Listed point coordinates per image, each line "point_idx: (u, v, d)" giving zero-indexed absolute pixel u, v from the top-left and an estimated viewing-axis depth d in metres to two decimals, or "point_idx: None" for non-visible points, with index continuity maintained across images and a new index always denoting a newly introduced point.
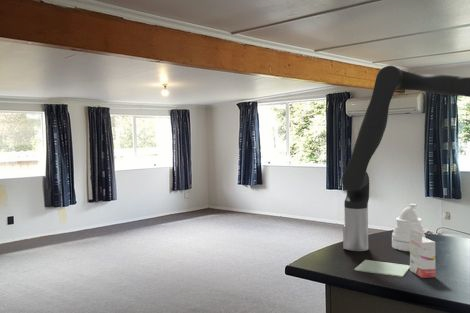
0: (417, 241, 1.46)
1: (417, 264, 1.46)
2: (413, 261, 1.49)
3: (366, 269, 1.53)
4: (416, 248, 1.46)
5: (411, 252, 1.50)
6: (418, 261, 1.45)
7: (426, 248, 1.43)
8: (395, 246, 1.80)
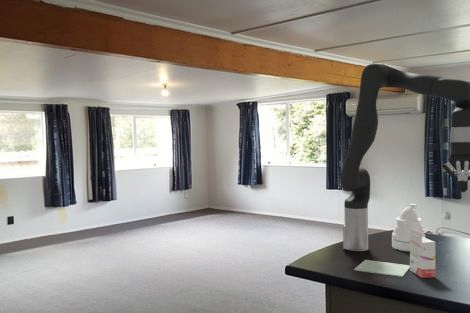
0: (417, 241, 1.46)
1: (417, 264, 1.46)
2: (413, 261, 1.49)
3: (366, 269, 1.53)
4: (416, 248, 1.46)
5: (411, 252, 1.50)
6: (418, 261, 1.45)
7: (426, 248, 1.43)
8: (395, 246, 1.80)
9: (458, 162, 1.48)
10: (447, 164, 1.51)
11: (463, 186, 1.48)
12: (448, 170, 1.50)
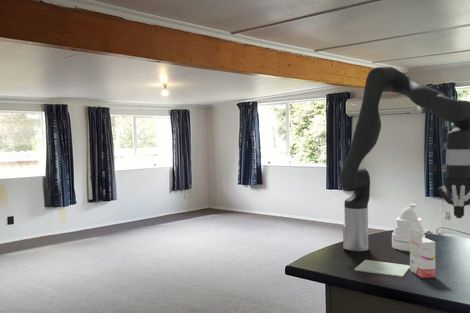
0: (417, 241, 1.46)
1: (417, 264, 1.46)
2: (413, 261, 1.49)
3: (366, 269, 1.53)
4: (416, 248, 1.46)
5: (411, 252, 1.50)
6: (418, 261, 1.45)
7: (426, 248, 1.43)
8: (395, 246, 1.80)
9: (454, 186, 1.39)
10: (442, 188, 1.43)
11: (459, 212, 1.40)
12: (443, 194, 1.42)
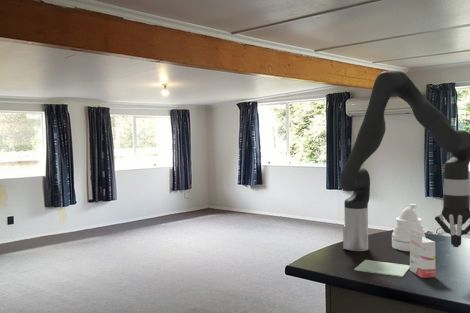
0: (417, 241, 1.46)
1: (417, 264, 1.46)
2: (413, 261, 1.49)
3: (366, 269, 1.53)
4: (416, 248, 1.46)
5: (411, 252, 1.50)
6: (418, 261, 1.45)
7: (426, 248, 1.43)
8: (395, 246, 1.80)
9: (451, 216, 1.40)
10: (440, 216, 1.44)
11: (456, 241, 1.41)
12: (441, 223, 1.43)
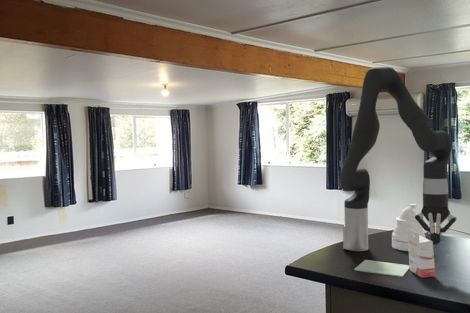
0: (414, 241, 1.46)
1: (416, 264, 1.46)
2: (412, 261, 1.49)
3: (366, 269, 1.53)
4: (414, 248, 1.46)
5: (410, 252, 1.50)
6: (417, 261, 1.45)
7: (424, 248, 1.43)
8: (395, 246, 1.80)
9: (430, 214, 1.44)
10: (420, 215, 1.47)
11: (435, 239, 1.44)
12: (420, 221, 1.46)
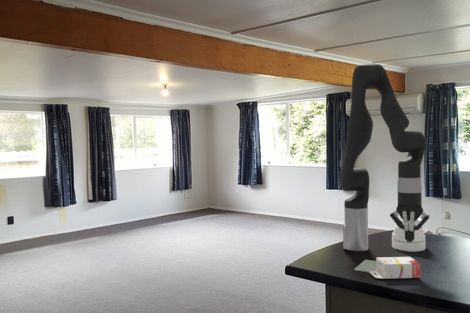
0: None
1: None
2: None
3: (366, 269, 1.53)
4: None
5: None
6: None
7: (391, 273, 1.42)
8: (395, 246, 1.80)
9: (404, 212, 1.48)
10: (394, 213, 1.51)
11: (409, 236, 1.48)
12: (395, 219, 1.50)
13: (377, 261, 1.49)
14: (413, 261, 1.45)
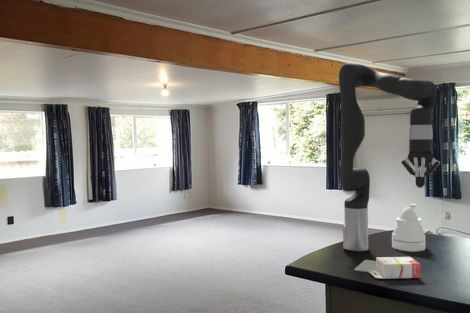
0: None
1: None
2: None
3: (366, 269, 1.53)
4: None
5: None
6: None
7: (391, 273, 1.42)
8: (395, 246, 1.80)
9: (415, 158, 1.54)
10: (406, 160, 1.57)
11: (420, 182, 1.54)
12: (406, 166, 1.56)
13: (377, 261, 1.49)
14: (413, 261, 1.45)
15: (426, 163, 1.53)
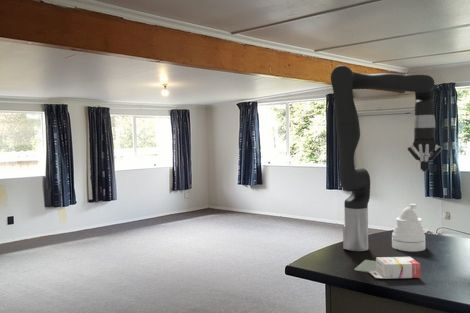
0: None
1: None
2: None
3: (366, 269, 1.53)
4: None
5: None
6: None
7: (391, 273, 1.42)
8: (395, 246, 1.80)
9: (420, 145, 1.72)
10: (411, 147, 1.75)
11: (424, 166, 1.72)
12: (412, 152, 1.75)
13: (377, 261, 1.49)
14: (413, 261, 1.45)
15: (430, 149, 1.71)
